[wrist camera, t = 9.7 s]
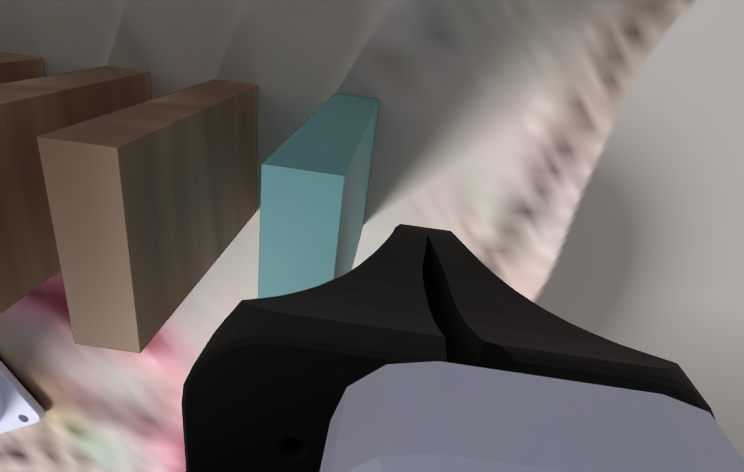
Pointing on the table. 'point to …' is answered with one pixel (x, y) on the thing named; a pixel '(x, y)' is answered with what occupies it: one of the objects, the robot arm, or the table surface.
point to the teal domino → (316, 197)
